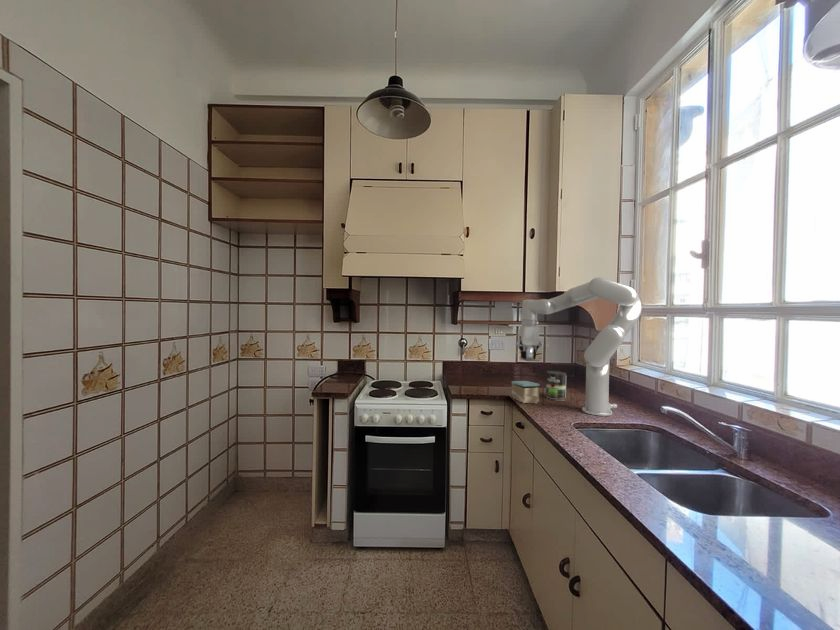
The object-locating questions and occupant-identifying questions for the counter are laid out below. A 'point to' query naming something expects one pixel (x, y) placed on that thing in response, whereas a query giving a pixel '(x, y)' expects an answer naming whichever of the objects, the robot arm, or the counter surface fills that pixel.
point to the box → (525, 393)
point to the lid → (525, 383)
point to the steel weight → (529, 353)
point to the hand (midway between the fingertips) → (528, 358)
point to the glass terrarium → (556, 384)
